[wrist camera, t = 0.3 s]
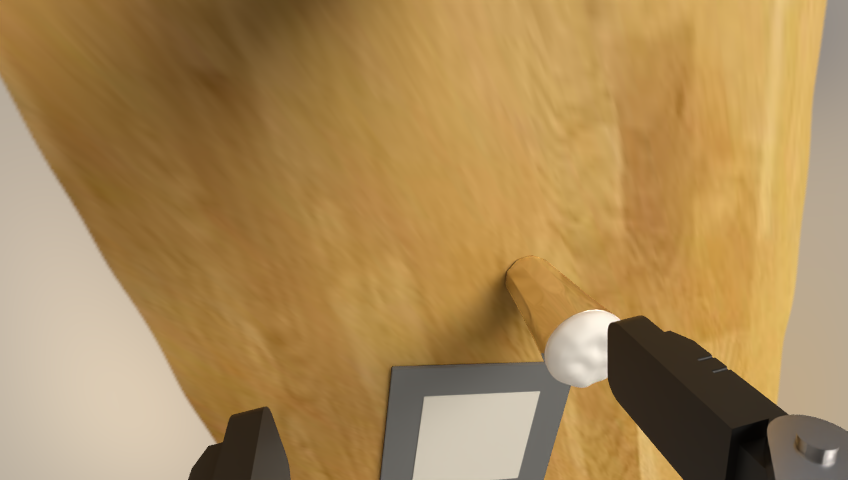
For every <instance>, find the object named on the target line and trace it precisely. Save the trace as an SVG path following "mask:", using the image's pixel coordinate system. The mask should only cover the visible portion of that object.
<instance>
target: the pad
mask: <svg viewBox="0 0 848 480" xmlns="http://www.w3.org/2000/svg"><path fill="white" fill-rule="evenodd" d="M570 387H571V385H568V384H565V383H562V382H560V381H558V380H556V379H555V378H554V377H553V376H552V375H551V374H550V372H549V370H548V368H547V366H546V364H545V362H525V363H493V364H460V365H428V366H396V367H392V373H391V382H390V391H389V401H388V410H387V420H386V429H385V438H384V448H383V457H382V466H381V476H380V480H544V477H545V473H546V470H547V466H548V463H549V459H550V456H551V452H552V449H553V445H554V442H555V439H556V435H557V432H558V428H559V425H560V421H561V418H562V414H563V411H564V407H565V404H566V401H567V397H568V394H569V390H570Z"/></svg>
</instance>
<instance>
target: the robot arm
mask: <svg viewBox="0 0 848 480" xmlns="http://www.w3.org/2000/svg"><path fill="white" fill-rule="evenodd" d="M607 374H608V381H609V385H610V388H611V390H612V393H613V395H614V396H615V398H616V400H617V401H618V402H619V404H620V405H621V406H622V407H623V408H624V410H625V411H626V412H627V413H628V414H629V415H630V417H631V418H632V419H633V420H634V421H635V423H636V424H637V425H638V426H639V427H640V429H641V430H642V431H643V432H644V433H645V435H646V436H647V437H648V438H649V439H650V440H651V442H652V443H653V444H654V445H655V446H656V448H657V449H658V450H659V451H660V452H661V454H662V455H663V456H664V457H665V458H666V459H667V461H668V462H669V463H670V464H671V465H672V467H673V468H674V469H675V470H676V471H677V473H678V474H679V475H680V476H681V477H682V478H683V480H848V431H846V430H844V429H843V428H841V427H839V426H837V425H835V424H833V423H830V422H828V421H825V420H822V419H819V418H816V417H811V416H806V415H788V414H787V413H786V412H784V411H783V410H782V409H781V408H779V407H778V406H777V405H776V404H774V403H773V402H772V401H770V400H769V399H768V398H767V397H765V396H764V395H763V394H761V393H760V392H759V391H758V390H756V389H755V388H754V387H752V386H751V385H750V384H749V383H747V382H746V381H745V380H743V379H742V378H741V377H740V376H738V375H737V374H736V373H734V372H733V371H732V370H728V369H727V366H725V365H724V364H723V363H722V362H720V361H719V360H718V359H716V358H713V357H712V355H711V354H710V353H709V352H707V351H706V350H705V349H704V348H702V347H701V346H700V345H698V344H697V343H696V342H694V341H693V340H691V339H688V338H686V337H684V336H681V335H679V334H677V333H674V332H672V331H667V332H663V331H662V330H661V329H660V328H659V327H657V326H656V325H655V324H654V323H653V322H651V321H650V320H649V319H648V318H646V317H644V316H636V317H632V318H628V319H624V320H620V321H616V322H612V323H610V324H609V326H608V332H607ZM188 480H291V479H290V469H289V464H288V459H287V456H286V453H285V450H284V447H283V444H282V442H281V439H280V436H279V433H278V430H277V427H276V425H275V422H274V419H273V416H272V413H271V411H270V409H269V408H268V407H262V408H258V409H254V410H250V411H246V412H242V413H238V414H234V415H232V416H231V417H230V419H229V422H228V426H227V429H226V433H225V437H224V441H223V442H222V443H218V444H214V445H211V446H208V447H207V449H206V450H205V451H204V453H203V454H202V456H201V457H200V458H199V460H198V461H197V462H196V464H195V465H194V466H193V468H192V470H191V473H190V476H189V479H188Z"/></svg>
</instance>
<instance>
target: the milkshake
mask: <svg viewBox="0 0 848 480" xmlns="http://www.w3.org/2000/svg"><path fill="white" fill-rule="evenodd" d="M505 286H506V288H507V290H508V291H509V293H510V295H511V297H512V299H513V301H514V302H515V304H516V306H517V308H518V310H519V312H520V313H521V315H522V317H523V319H524V321H525V323H526V325H527V326H528V328H529V331H530V333H531V335H532V337H533V339H534V341H535V343H536V345H537V347H538V350H539V352H540V354H541V356H542V358H543V360H544V362H545V364H546V366H547V368H548V370H549V372H550V374H551V375H552V376H553V377H554V378H555V379H556V380H558V381H560V382H562V383H565V384H568V385H571V386H575V387H581V388H584V387H587V386H589V385H591V384H593V383H595V382H598V381H602V380H604V379H606V378H607V377H608V374H607V332H608V326H609V324H610V323H612V322H616V321H620V319H619V318H618V317H616V316H615V315H614V314H612V313H611V312H610V311H609V310H607V309H606V308H605V307H603V306H602V305H601V304H599V303H598V302H597V301H595V300H594V299H593V298H591V297H590V296H589V295H588V294H586V293H585V292H584V291H583V290H582V289H580V288H579V287H578V286H577V285H576V284H574V283H573V282H572V281H571V280H569V279H568V278H567V277H566V276H565V275H563V274H562V273H561V272H560V271H559V270H557V269H556V268H555V267H554V266H552V265H551V264H550V263H549V262H548V261H546V260H545V259H542V258H539V257H536V256H532V255H531V256H528V257H525V258H522V259H518V260H517V261H516V262H515V263H514V264H513V265H512V266H511V267H510V269H509V270H508V271H507V276H506V282H505Z"/></svg>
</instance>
